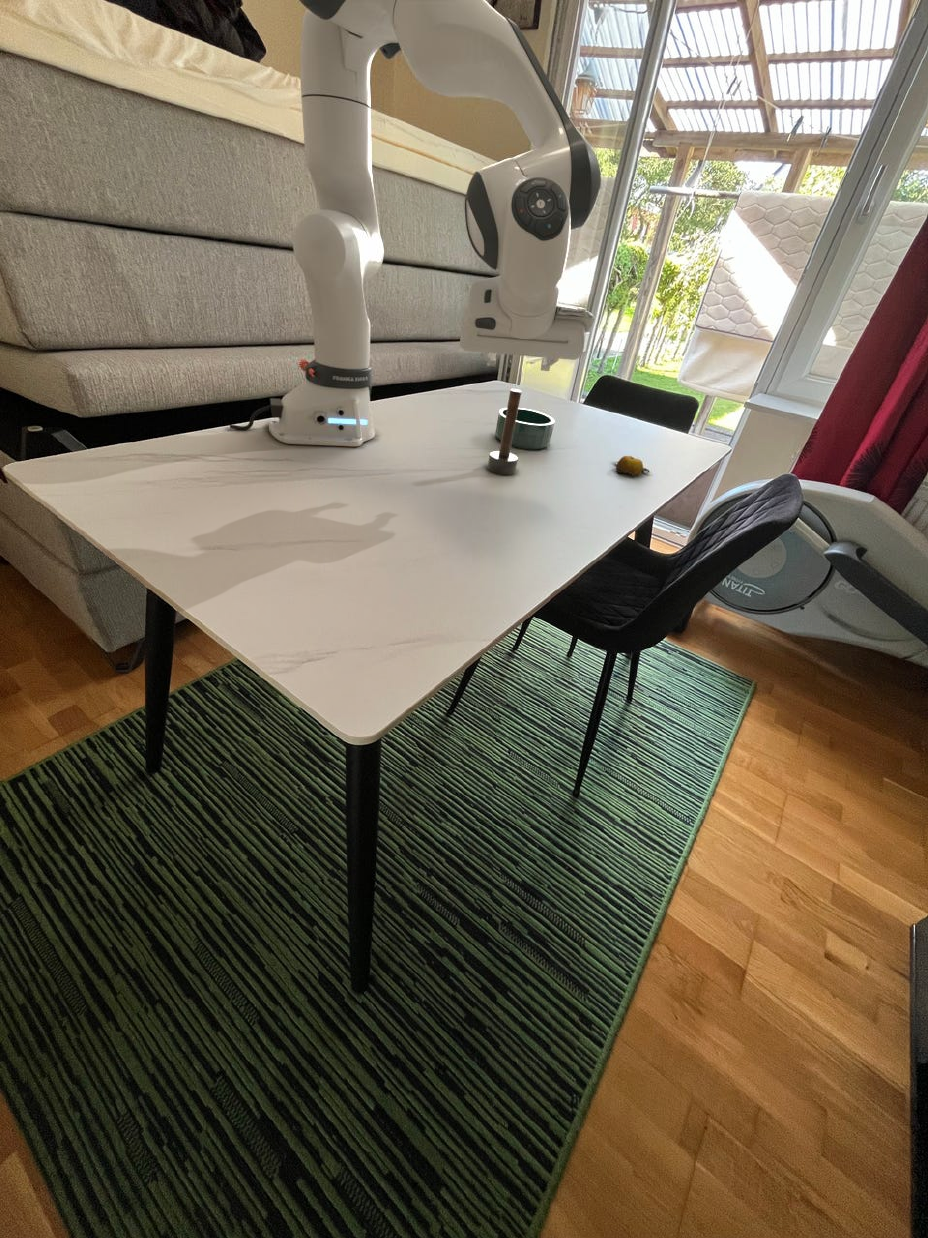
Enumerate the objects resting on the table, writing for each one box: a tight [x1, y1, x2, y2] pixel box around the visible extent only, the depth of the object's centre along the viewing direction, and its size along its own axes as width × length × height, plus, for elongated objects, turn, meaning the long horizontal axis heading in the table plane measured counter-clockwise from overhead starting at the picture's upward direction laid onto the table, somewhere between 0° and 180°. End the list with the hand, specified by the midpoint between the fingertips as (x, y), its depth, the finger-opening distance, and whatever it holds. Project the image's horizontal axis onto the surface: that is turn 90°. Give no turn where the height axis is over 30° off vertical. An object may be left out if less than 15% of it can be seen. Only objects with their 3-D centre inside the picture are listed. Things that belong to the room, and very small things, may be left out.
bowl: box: [494, 407, 555, 451], centre depth 127 cm, size 14×14×6 cm
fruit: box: [614, 455, 651, 477], centre depth 119 cm, size 8×8×4 cm
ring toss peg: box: [487, 388, 522, 476], centre depth 105 cm, size 6×6×16 cm
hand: (518, 365), depth 90 cm, fingers open, 8 cm apart
